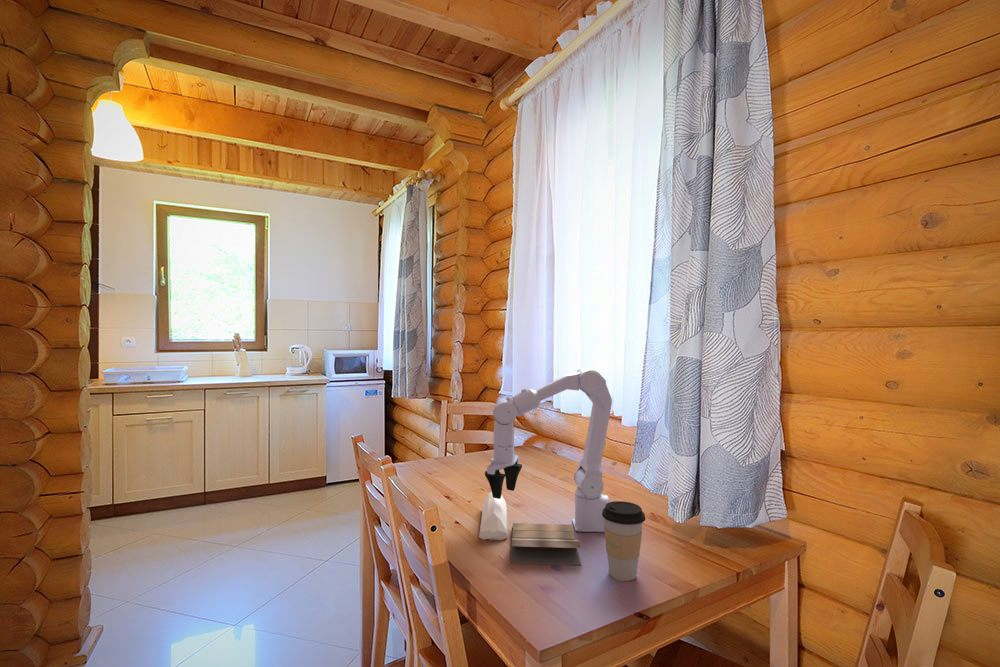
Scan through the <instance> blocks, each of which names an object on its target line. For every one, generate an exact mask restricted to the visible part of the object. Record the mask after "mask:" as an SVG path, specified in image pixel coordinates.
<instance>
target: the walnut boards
mask: <svg viewBox="0 0 1000 667" xmlns="http://www.w3.org/2000/svg"><path fill="white" fill-rule="evenodd" d="M512 526H513V537H512V536H511V539H512V538H520V539H557V540H576V535H575V532H574V527H573V525H572V524H561V523H559V524H558V523H556V524H555V523H554V524H553V523H551V524H550V523H525V522H524V523H522V522H521V523H520V522H513V523H512Z"/></svg>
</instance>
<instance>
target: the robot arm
mask: <svg viewBox="0 0 1000 667" xmlns="http://www.w3.org/2000/svg"><path fill="white" fill-rule="evenodd" d="M567 390H569V391H571V390H572V391H582V392H583V393H585V395H586V396H587V397H588V400H590V401H591V403H592V407H591V411H590V418H589V423H588V428H587V435H586V440H585V446H584V449H583V455H582V458H581V460H580V461H579V465H578V468H577V469H576V470H575V472H574V475H573V481H574V483H575V485H576V486H577V488H576V490H575V491H574V494H575V495H574V496H575V497H574V506H575V507H574V518H571V519H572V520H571V521H572V524H573V525H572V526H573V529H574V531H575V532H586V533H588V532H591V533H605V531H604V525H605V523H604V517H603V516H602V511H603V509H604V508H605V506H606V504H607V503H609V502H610V498H609V496H608V494H603V491H604V482H603V467H602V459H603V456H604V455H603V453H604V449H605V444H606V443H605V442H606V436H607V432H608V427H609V422H610V421H609V420H610V415H611V410H612V403H613V399H612V395H611V394H610V391H609V389H608V386H607V380H606V378H604V376H602V375H601V373H599V372H598V371H596V370H594V369H589V368H586V367H582V368H579V369H577V370H576V371H571V372H568V373H567V374H564V375H562V376H560V377H558V378H556V379H555V380H553V381H551V382H549V383H547V384H545V385H543V386H541V387H539V388H538V389H536V390H535V389H532V388H527V389H526V387H525V388H522V389H521V392H518V393H517V394H515V395H512V396H511V397H510V396H507V397H506V398H505V400H500V401H498V402H497V403H495V405H494V407H493V410H492V414H493V416H494V420H493V421H494V422H493V457H492V458H491V459H490V461H489V462H490V464H489V465H487V466H486V470H485V471H484V476H485V477H486V480H487V482H488V484H489V488H490V490H491V491H492V495H493V498H497V499H500V498H501V494H502V493H503V484H504V480H505V486H506V489H507V491H512V492H514V491H515V489H516V485H517V480H518V477H519V474H520V473H521V471H522V467H523V464H521V463H520V454H515V428H514V421H515V419H516V417H521V416H522V415H524V414H527V413H529V412H531V411H533V410H536V409H537V408H539V407H540V403H541V401H544V400H546V399H548V398H550V397H553V396H555V395H557V394H560V393H563V392H564V391H567ZM501 470H503V471H504V473H501ZM491 491H490V492H491ZM502 495H503V494H502Z"/></svg>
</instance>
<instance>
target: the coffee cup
mask: <svg viewBox="0 0 1000 667" xmlns="http://www.w3.org/2000/svg"><path fill="white" fill-rule="evenodd" d="M602 516H603V517H604V523H605V525H604V531H605V532H604V539H605V550H606V554H607V562H608V564H607V565H608V573H609V575H610V577H612V578H613V579H615V580H617V581H621V582H630V581H634V580H635V579H636V578H637V573H638V566H639V557H640V555H641V554H640V552H641V545H642V538H643V536H642V535H643V530H642V529H643V528H642V527H643V523H644V522H646V514H645V513H644V511H643V508H642V507H641V506H640V505H638V504H637V503H636V504H635V503H633V502H629V501H621V500H615V501H609V503H607V504H606V506H605V508H604V509H603V511H602Z"/></svg>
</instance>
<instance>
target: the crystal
mask: <svg viewBox="0 0 1000 667" xmlns="http://www.w3.org/2000/svg"><path fill="white" fill-rule="evenodd" d="M503 496H504V495H503V494H501V498H500V499H497V498H493V495H492V491H489V492H488V494H487V496H486V497H485V499H484V501H483V505H482V511H481V519H480V520H481V521H480V528H479V529H480V530H479V535H478V538H480V539H482V540H484V539H490V540H489V541H502V540H501V539H503V540H505V539H507V538H508V509H507V503H506V502H507V501H506V500H505V498H504V497H503ZM491 539H492V540H491Z"/></svg>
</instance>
